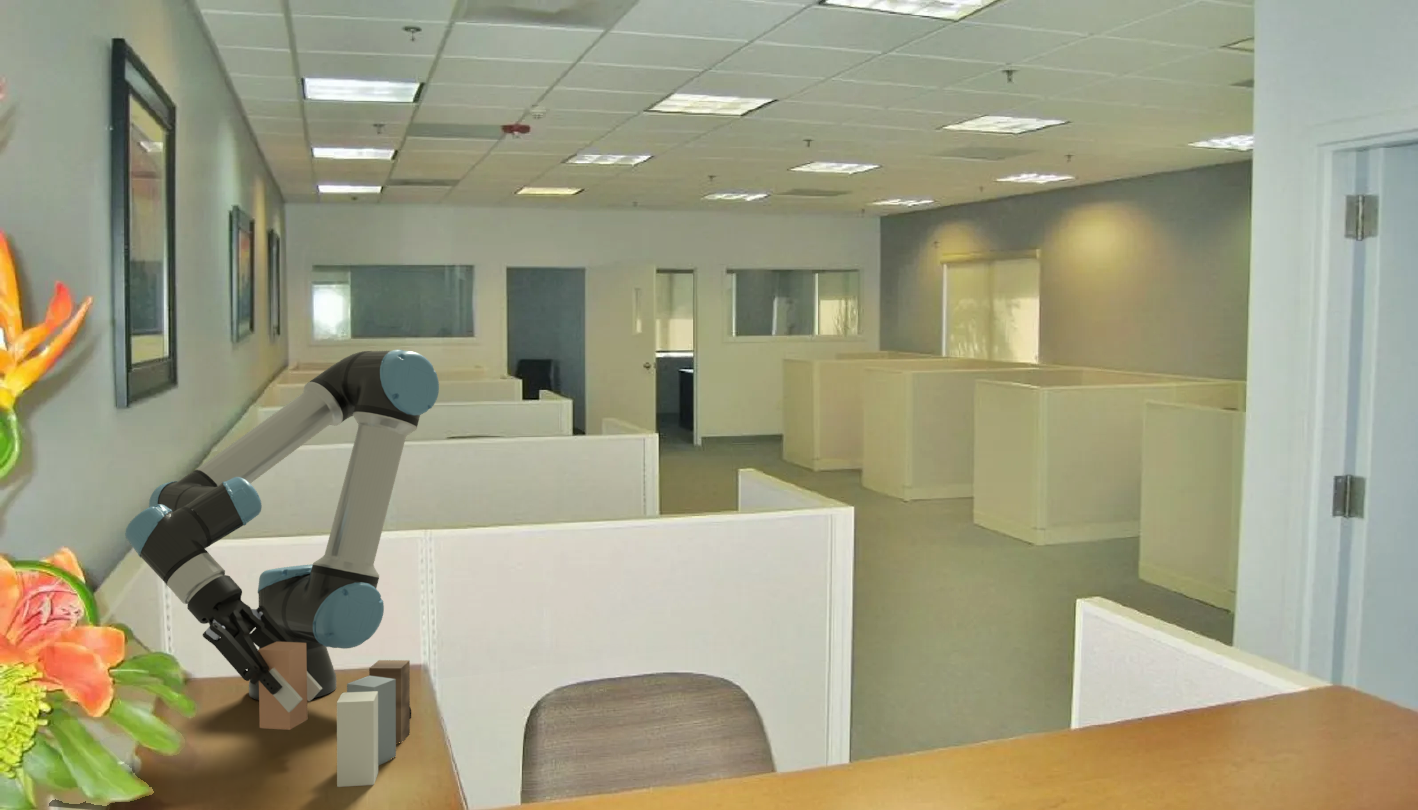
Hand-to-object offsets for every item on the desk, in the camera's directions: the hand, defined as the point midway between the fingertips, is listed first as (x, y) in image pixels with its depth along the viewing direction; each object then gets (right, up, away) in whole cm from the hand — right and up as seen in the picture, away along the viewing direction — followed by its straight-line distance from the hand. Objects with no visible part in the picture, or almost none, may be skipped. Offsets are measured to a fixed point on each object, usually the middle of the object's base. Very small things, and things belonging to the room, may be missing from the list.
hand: (305, 700), depth 171 cm
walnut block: (+10, -8, +8) cm, 16 cm away
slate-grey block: (+11, -9, -2) cm, 14 cm away
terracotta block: (-4, -4, +1) cm, 5 cm away
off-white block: (+11, -9, -10) cm, 17 cm away
